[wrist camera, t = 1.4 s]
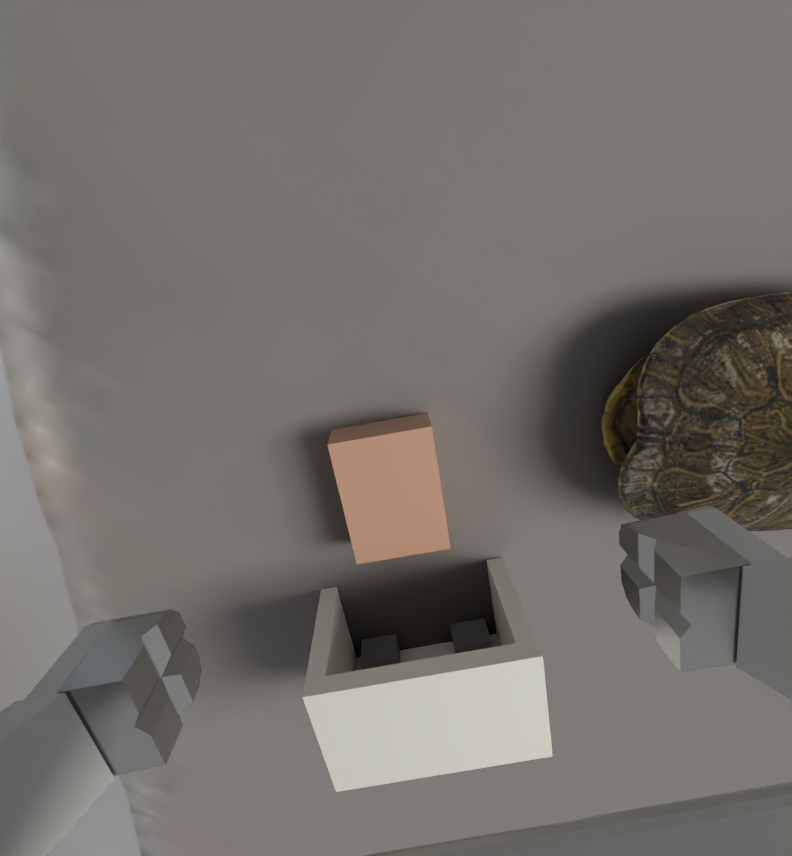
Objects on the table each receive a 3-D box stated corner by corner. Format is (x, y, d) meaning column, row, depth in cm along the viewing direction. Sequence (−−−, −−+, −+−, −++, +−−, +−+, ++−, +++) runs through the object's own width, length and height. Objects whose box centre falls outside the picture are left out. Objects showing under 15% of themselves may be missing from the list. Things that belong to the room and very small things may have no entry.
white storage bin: (321, 589, 35) (302, 697, 27) (502, 557, 35) (542, 656, 26) (345, 671, 38) (336, 791, 30) (512, 642, 38) (552, 756, 29)
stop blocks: (361, 639, 37) (360, 664, 35) (484, 618, 37) (491, 641, 34) (366, 658, 38) (366, 683, 35) (487, 637, 37) (494, 661, 35)
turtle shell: (922, 563, 29) (658, 605, 25) (783, 493, 38) (565, 515, 33) (1067, 302, 23) (755, 296, 19) (865, 286, 32) (613, 279, 27)
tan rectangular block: (332, 427, 31) (327, 444, 28) (426, 411, 31) (431, 426, 28) (358, 539, 34) (356, 564, 31) (444, 524, 34) (450, 548, 31)
